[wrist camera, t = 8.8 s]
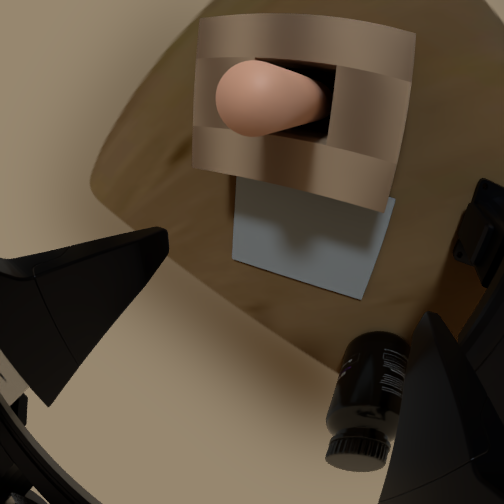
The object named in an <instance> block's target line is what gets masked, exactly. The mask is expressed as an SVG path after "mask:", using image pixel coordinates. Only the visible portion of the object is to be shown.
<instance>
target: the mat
mask: <svg viewBox="0 0 504 504" xmlns="http://www.w3.org/2000/svg"><path fill="white" fill-rule="evenodd" d="M394 203H395V199H394V198H391V197H389V198H388V202H387V205H386V209H385V212H384V213H381V212H378V211H375V210H371V209H368V208H365V207H361V206H358V205H354V204H351V203H347V202H344V201H340V200H336V199H333V198H329V197H325V196H321V195H317V194H314V193H310V192H306V191H302V190H297V189H293V188H289V187H285V186H281V185H276V184H272V183H267V182H263V181H258V180H254V179H249V178H244V177H239V176H237V178H236V195H235V212H234V231H233V251H232V259H234V260H237V261H240V262H243V263H246V264H250V265H253V266H256V267H259V268H262V269H265V270H268V271H271V272H274V273H277V274H280V275H284V276H287V277H290V278H293V279H296V280H299V281H302V282H306V283H309V284H312V285H315V286H318V287H321V288H325V289H328V290H331V291H334V292H337V293H340V294H344V295H347V296H350V297H353V298H357V299H360V300H361V299H362V296H363V294H364V291H365V289H366V286H367V284H368V281H369V278H370V276H371V273H372V270H373V268H374V265H375V262H376V259H377V257H378V254H379V251H380V248H381V245H382V242H383V239H384V236H385V233H386V230H387V226H388V223H389V220H390V217H391V213H392V210H393V206H394Z"/></svg>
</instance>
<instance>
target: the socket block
mask: <svg viewBox="0 0 504 504" xmlns="http://www.w3.org/2000/svg"><path fill="white" fill-rule="evenodd" d="M415 41H416V34H415V33H412V32H408V31H405V30H401V29H397V28H393V27H389V26H385V25H380V24H375V23H370V22H365V21H359V20H353V19H346V18H339V17H331V16H321V15H308V14H287V13H259V14H238V15H225V16H216V17H207V18H200V21H199V32H198V43H197V56H196V70H195V87H194V109H193V144H192V168H197V169H203V170H208V171H214V172H219V173H224V174H229V175H234V176H239V177H244V178H249V179H254V180H258V181H263V182H267V183H272V184H276V185H281V186H285V187H289V188H293V189H297V190H302V191H306V192H310V193H314V194H317V195H321V196H325V197H329V198H333V199H336V200H340V201H344V202H347V203H351V204H354V205H358V206H361V207H365V208H368V209H371V210H375V211H378V212H381V213H384V212H385V209H386V205H387V202H388V198H389V194H390V190H391V187H392V183H393V179H394V175H395V170H396V166H397V162H398V157H399V153H400V148H401V143H402V138H403V133H404V128H405V122H406V117H407V111H408V104H409V98H410V90H411V83H412V74H413V65H414V54H415ZM249 60H257V61H263V62H266V63H270V64H273V65H276V66H279V67H282V68H284V67H289V68H299V69H307V70H315V71H322V72H329V73H335V74H336V77H335V85H334V93H333V101H332V109H331V116H330V123H329V130H328V134H326V133H321V132H316V131H311V130H306V129H300V128H295V127H292V128H288V129H284V130H281V131H277V132H274V133H270V134H267V135H264V136H259V137H248V136H243V135H240V134H238V133H236V132H234V131H233V130H231V129H230V128H229V127H228V126H227V125H226V124H225V123H224V122H223V120H222V119H221V117H220V115H219V113H218V110H217V106H216V90H217V86H218V84H219V82H220V80H221V78H222V76H223V75H224V74H225V73H226V72H227V71H228V70H229V69H230V68H231V67H233V66H234V65H236V64H238V63H241V62H244V61H249Z"/></svg>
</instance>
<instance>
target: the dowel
mask: <svg viewBox="0 0 504 504" xmlns="http://www.w3.org/2000/svg"><path fill="white" fill-rule="evenodd" d="M332 101H333V96H332V93H331V91H330V90H329V88H328V87H327V86H326V85H324V84H323V83H321V82H319V81H316V80H314V79H311V78H309V77H306V76H304V75H301V74H298V73H296V72H293V71H290V70H287V69H284V68H282V67H279V66H276V65H273V64H270V63H266V62H263V61H257V60H249V61H244V62H241V63H238V64H236V65H234V66H233V67H231V68H230V69H229V70H228V71H227V72H226V73H225V74H224V75H223V76H222V78H221V80H220V82H219V84H218V86H217V90H216V106H217V110H218V113H219V115H220V117H221V119H222V120H223V122H224V123H225V124H226V125H227V126H228V127H229V128H230V129H231V130H233V131H234V132H236V133H238V134H240V135H243V136H248V137H259V136H264V135H267V134H270V133H274V132H277V131H281V130H284V129H288V128H292V127H296V126H299V125H303V124H307V123H311V122H315V121H319V120H322V119H324V118H325V117H327V116H328V115H329V114H330V112H331V109H332Z"/></svg>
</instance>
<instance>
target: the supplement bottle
mask: <svg viewBox="0 0 504 504" xmlns="http://www.w3.org/2000/svg"><path fill="white" fill-rule="evenodd" d="M409 354H410V347H409V345H408V344H407V343H406V341H405V340H404V339H402V338H401V337H399V336H398V335H396V334H393V333H390V332H384V331H374V332H368V333H365V334H362V335H360V336H358V337H356V338H355V339H354V340H353V341H352V342H351V343H350V344H349V345H348V347H347V349H346V352H345V356H344V359H343V363H342V367H341V370H340V374H339V377H338V381H337V384H336V388H335V391H334V394H333V397H332V401H331V404H330V407H329V410H328V413H327V417H326V425H327V428H328V430H329V432H330V433H331V434H332V435H333V437H332V438H331V440H330V443H329V448H328V451H327V454H326V457H325V459H326V462H328V464H330V465H332V466H334V467H336V468H339V469H342V470H347V471H353V472H370V471H375V470H378V469H381V468H383V467H384V466H385V464H386V459H387V455H388V453H389V451H390V447H391V445H390V441H392V440H394V439H395V437H396V432H397V426H398V421H399V415H400V409H401V402H402V395H403V387H404V379H405V374H406V369H407V364H408V359H409Z"/></svg>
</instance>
